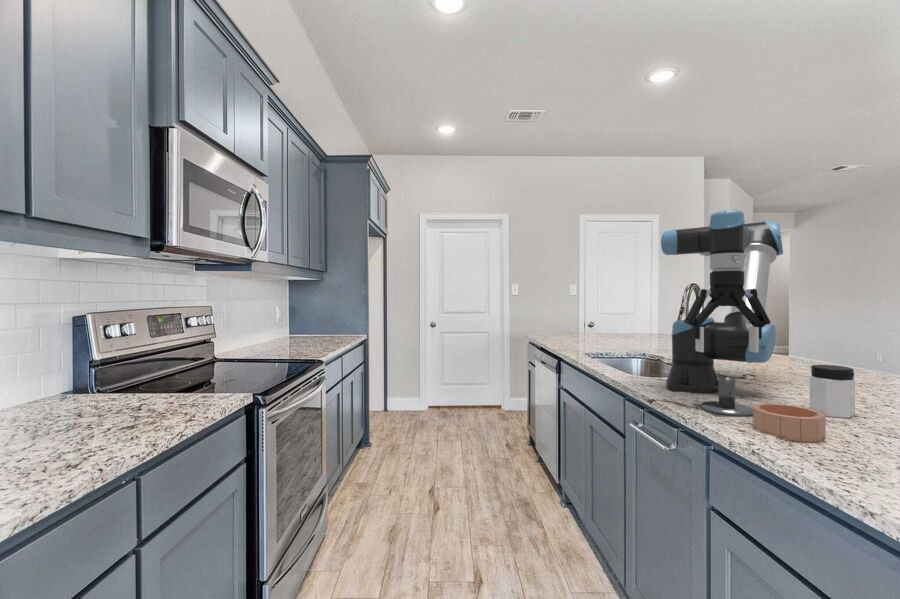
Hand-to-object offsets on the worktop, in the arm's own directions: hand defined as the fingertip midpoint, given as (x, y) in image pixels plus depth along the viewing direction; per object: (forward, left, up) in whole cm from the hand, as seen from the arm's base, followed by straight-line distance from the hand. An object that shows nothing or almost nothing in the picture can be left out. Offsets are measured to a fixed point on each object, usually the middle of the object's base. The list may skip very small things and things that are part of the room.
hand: (726, 351), depth 110 cm
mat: (0, 0, -16) cm, 16 cm away
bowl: (+16, +4, -16) cm, 23 cm away
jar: (0, +26, -16) cm, 31 cm away
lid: (0, 0, -15) cm, 15 cm away
